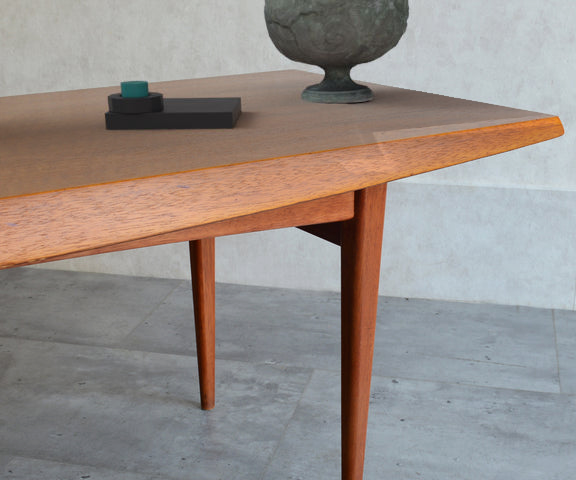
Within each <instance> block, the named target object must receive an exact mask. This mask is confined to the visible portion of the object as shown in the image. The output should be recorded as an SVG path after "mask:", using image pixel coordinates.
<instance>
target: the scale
mask: <svg viewBox="0 0 576 480" xmlns="http://www.w3.org/2000/svg"><path fill="white" fill-rule="evenodd" d="M107 105H108V111H106V112H104V121H105V129H106V131H144V130H145V131H146V130H147V131H148V130H152V131H153V130H155V131H157V130H234V128H235V126H236V124H237V123H238V120H239V118H240V117H241V114H242V98H241V97H240V96H237V97H235V96H234V97H232V96H231V97H230V96H229V97H164V94H163V93H161V92H157V91H149V96H144V97H122V95H121V92H118V93H112V94H109V95H108V96H107Z"/></svg>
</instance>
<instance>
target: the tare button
mask: <svg viewBox="0 0 576 480" xmlns="http://www.w3.org/2000/svg"><path fill="white" fill-rule="evenodd" d="M119 84H120V93H121V95H122V97H144V96H149V92H150V90H149V82H148V81H147V80H125V81H121V82H120V83H119Z"/></svg>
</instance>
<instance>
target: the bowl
mask: <svg viewBox="0 0 576 480" xmlns="http://www.w3.org/2000/svg"><path fill="white" fill-rule="evenodd" d="M263 15H264V16H263V18H264V21H265V22H264V23H265V26H266V30H267V34H268V37H269V39H270V41H271V42H272V44H273V45H274V47H275V49H276V50H277V52H279V53H280V54H281V55H282V56H284V57H285V58H286V59H288V60H290V61H292V62H296V63H301V64H305V65H308V66H309V65H310V66H315V67H317V68H320V69H322V70H323V72H324V75H323V76H324V77H323V79H322V80H321V81H320V82H318V83H315V84H311V85H308V86H306V87H305V88H304V89H303V90H302V92H301V100H302V101H303V102H304V101H305V102H308V103H317V104H345V103H347V104H348V103H349V104H350V103H362V102H367V101H373V100H374V92H373V90H372V89H371V88H370V87H369V86H368V85H365V84H360V83H357V82H356V81H354V80H353V79H352V77H351V70H352V69H353V68H355V67H356V66H358V65H362V64H368V63H371V62H374V61H376V60H378V59H381V58H382V57H383V56H384V55H386V54H387V53H388V52H390V51H391V50H392V49H394V48H395V47H397V45H398V44H399V42H400V40H401V38H402V37H403V36H404V34H405V33H406V31H407V28H408V19H409V17H410V3H409V0H264V7H263Z"/></svg>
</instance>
